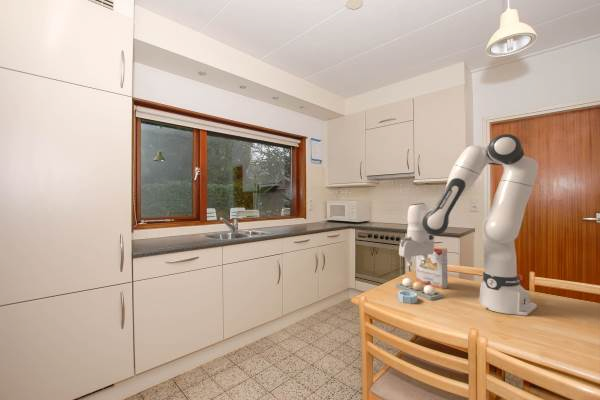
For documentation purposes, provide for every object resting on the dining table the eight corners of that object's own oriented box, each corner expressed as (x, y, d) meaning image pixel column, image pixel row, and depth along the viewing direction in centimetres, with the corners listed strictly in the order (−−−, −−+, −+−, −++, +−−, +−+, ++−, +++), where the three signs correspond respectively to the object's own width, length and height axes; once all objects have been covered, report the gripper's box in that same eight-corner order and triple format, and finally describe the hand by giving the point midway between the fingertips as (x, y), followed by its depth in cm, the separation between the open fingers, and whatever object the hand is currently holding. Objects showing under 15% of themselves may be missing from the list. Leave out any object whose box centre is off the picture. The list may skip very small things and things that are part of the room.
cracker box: (415, 284, 146) (415, 245, 146) (421, 282, 150) (421, 244, 150) (442, 291, 135) (441, 249, 135) (448, 289, 139) (447, 248, 139)
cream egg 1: (407, 285, 141) (407, 276, 141) (415, 288, 137) (414, 278, 137) (400, 287, 139) (400, 277, 139) (407, 290, 135) (407, 280, 135)
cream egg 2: (428, 293, 129) (428, 283, 129) (437, 296, 125) (437, 286, 125) (421, 295, 127) (421, 284, 127) (430, 298, 123) (430, 287, 123)
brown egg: (417, 289, 135) (417, 279, 135) (426, 292, 131) (425, 282, 131) (410, 291, 133) (410, 281, 133) (418, 294, 129) (418, 283, 129)
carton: (407, 286, 143) (407, 282, 143) (443, 299, 124) (443, 294, 124) (395, 288, 140) (395, 284, 140) (430, 302, 121) (430, 297, 121)
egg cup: (406, 298, 127) (406, 289, 127) (421, 303, 120) (420, 294, 120) (393, 301, 123) (393, 292, 123) (407, 307, 116) (407, 297, 116)
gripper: (406, 238, 125) (405, 268, 125) (436, 236, 133) (436, 264, 134) (395, 236, 131) (395, 265, 131) (426, 234, 139) (425, 261, 139)
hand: (416, 264), depth 132 cm, fingers open, 8 cm apart
